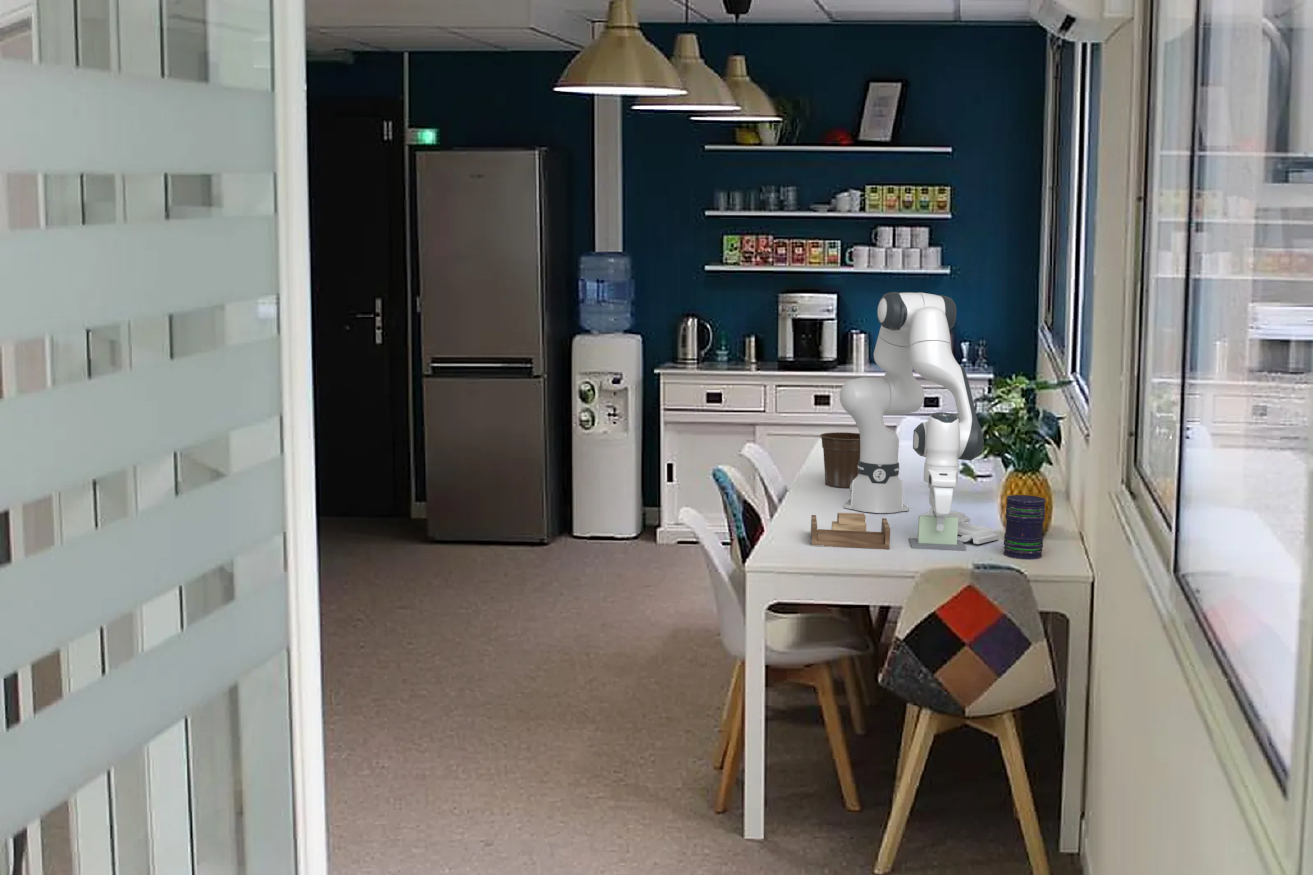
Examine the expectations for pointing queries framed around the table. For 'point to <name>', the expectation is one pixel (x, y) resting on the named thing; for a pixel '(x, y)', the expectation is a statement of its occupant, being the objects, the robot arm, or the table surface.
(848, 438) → the plant pot
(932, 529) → the wide pale green sheet
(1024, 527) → the storage jar
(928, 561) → the table surface
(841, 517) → the offcut top
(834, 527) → the offcut low
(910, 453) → the table surface
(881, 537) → the rack
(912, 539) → the mat
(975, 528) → the molding
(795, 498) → the table surface
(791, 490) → the table surface
